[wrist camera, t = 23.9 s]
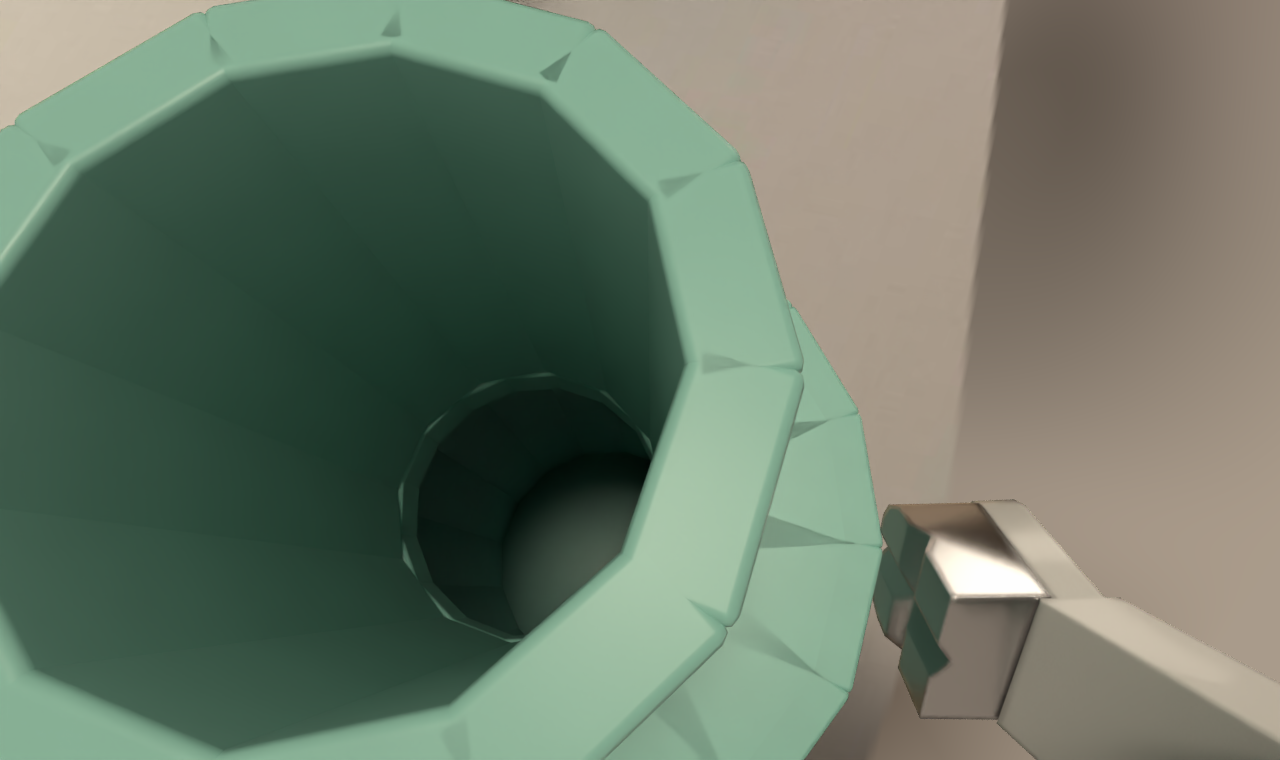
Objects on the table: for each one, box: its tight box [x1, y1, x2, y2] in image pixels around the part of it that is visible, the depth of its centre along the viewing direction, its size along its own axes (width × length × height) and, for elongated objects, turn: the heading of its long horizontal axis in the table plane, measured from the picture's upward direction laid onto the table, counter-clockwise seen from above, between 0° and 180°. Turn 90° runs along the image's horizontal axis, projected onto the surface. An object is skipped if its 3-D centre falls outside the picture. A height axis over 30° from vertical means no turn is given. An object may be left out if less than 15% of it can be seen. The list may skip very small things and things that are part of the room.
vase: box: [0, 0, 883, 760], centre depth 10 cm, size 6×6×16 cm
